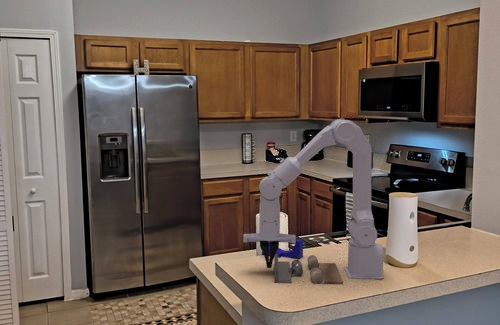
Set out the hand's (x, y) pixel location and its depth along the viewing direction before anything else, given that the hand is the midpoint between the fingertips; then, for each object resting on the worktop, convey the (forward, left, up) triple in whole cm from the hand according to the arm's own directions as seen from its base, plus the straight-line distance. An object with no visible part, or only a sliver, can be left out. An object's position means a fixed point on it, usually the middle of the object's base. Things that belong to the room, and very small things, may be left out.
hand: (269, 266), depth 135 cm
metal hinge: (-5, 0, -2) cm, 6 cm away
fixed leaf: (-15, 0, -2) cm, 16 cm away
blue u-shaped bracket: (-4, -15, -2) cm, 16 cm away
